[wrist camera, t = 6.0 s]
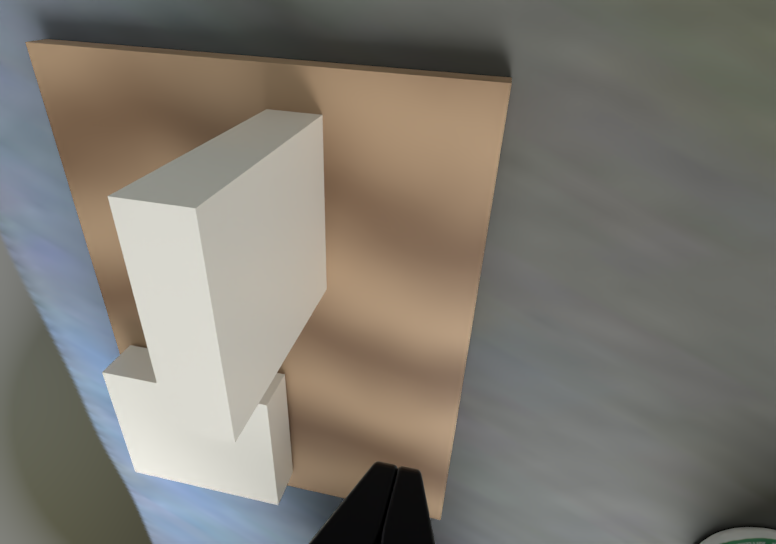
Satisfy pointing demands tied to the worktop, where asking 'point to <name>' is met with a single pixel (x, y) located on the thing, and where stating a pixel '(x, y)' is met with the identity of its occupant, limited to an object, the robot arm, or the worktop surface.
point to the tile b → (227, 265)
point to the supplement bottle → (743, 536)
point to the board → (342, 227)
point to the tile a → (198, 453)
